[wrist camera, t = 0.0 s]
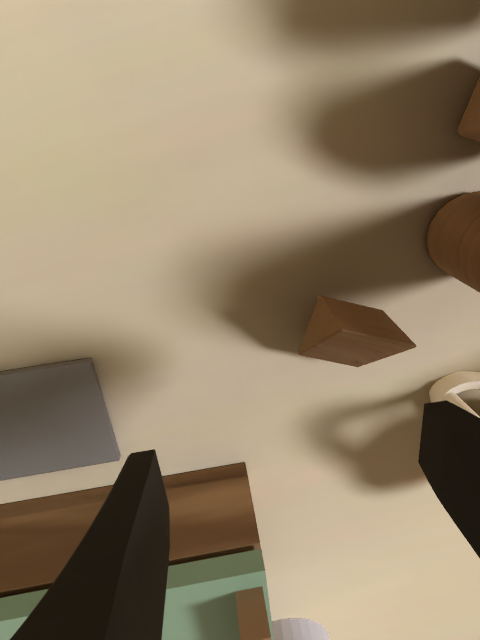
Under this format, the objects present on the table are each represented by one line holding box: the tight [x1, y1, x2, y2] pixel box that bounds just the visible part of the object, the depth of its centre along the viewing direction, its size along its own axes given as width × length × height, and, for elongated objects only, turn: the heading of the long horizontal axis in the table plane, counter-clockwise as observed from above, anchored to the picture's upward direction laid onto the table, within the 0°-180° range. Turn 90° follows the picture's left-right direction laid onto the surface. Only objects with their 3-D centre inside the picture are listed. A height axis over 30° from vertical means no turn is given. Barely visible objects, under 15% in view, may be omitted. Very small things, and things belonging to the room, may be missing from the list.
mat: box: [0, 358, 120, 481], centre depth 20 cm, size 6×7×1 cm
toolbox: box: [0, 462, 261, 598], centre depth 22 cm, size 10×22×5 cm, turn 96°
